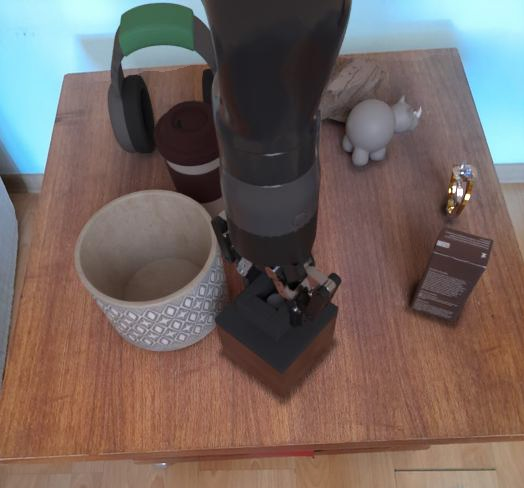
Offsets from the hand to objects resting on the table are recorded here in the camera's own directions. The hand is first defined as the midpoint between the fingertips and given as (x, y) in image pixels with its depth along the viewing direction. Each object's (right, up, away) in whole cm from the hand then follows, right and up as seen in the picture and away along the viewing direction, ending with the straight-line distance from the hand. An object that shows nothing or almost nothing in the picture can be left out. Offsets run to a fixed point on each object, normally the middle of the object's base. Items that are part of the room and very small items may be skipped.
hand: (275, 304), depth 53 cm
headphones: (-14, +29, +27) cm, 42 cm away
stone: (+11, +34, +28) cm, 45 cm away
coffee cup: (-10, +17, +21) cm, 29 cm away
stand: (+1, -5, +10) cm, 11 cm away
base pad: (0, -1, +3) cm, 3 cm away
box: (+22, +1, +12) cm, 25 cm away
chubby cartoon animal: (+17, +27, +24) cm, 40 cm away
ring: (+26, +15, +18) cm, 35 cm away
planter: (-14, +2, +14) cm, 20 cm away
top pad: (0, 0, 0) cm, 0 cm away
